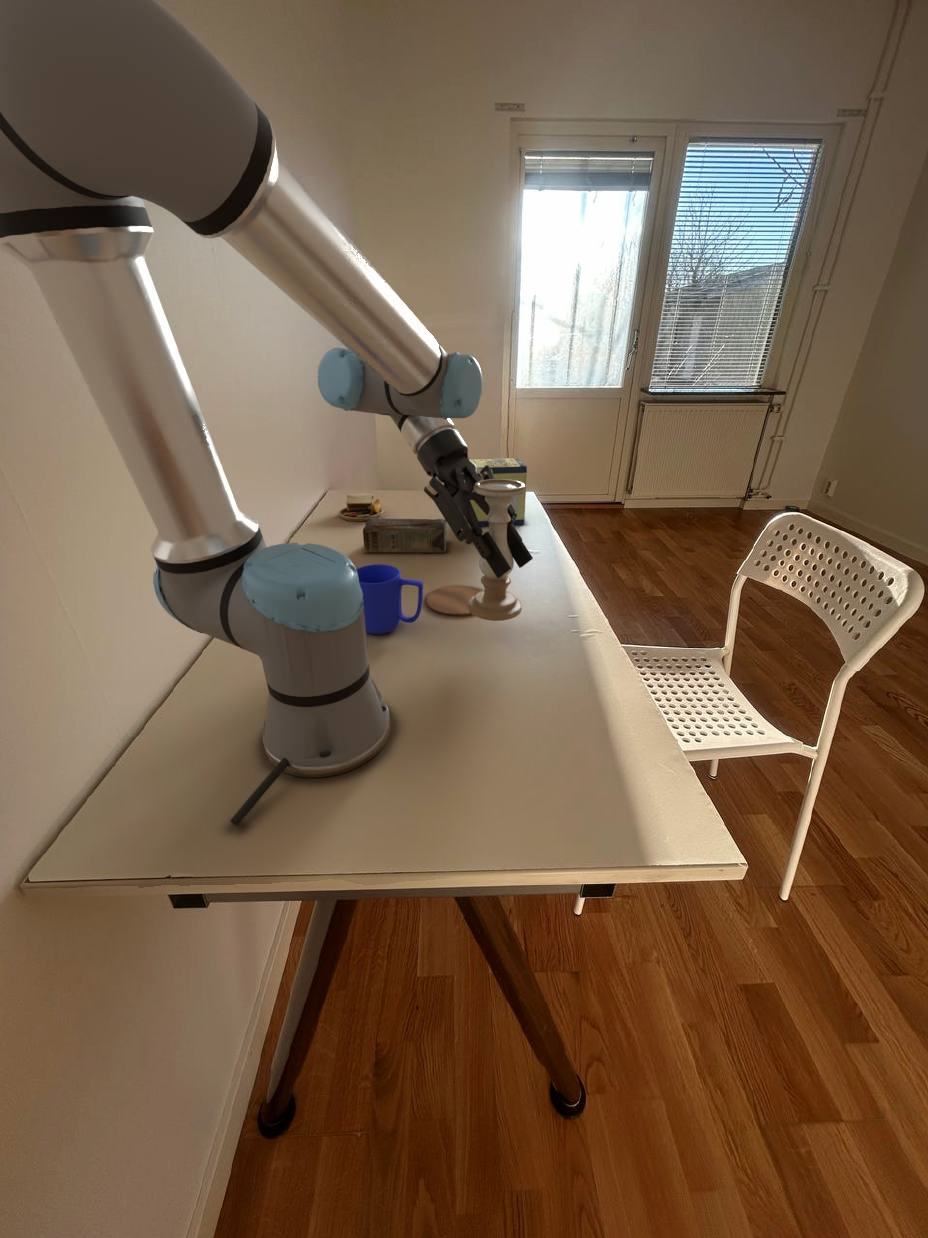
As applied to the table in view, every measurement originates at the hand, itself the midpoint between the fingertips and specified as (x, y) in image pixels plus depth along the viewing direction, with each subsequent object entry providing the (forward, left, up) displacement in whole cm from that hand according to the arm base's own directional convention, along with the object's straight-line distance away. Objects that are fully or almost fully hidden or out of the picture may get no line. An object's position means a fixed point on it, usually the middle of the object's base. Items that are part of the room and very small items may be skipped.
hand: (515, 568), depth 78 cm
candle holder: (+1, +4, -8) cm, 9 cm away
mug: (-7, +20, -13) cm, 25 cm away
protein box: (+55, +35, -13) cm, 66 cm away
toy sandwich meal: (+39, +70, -13) cm, 81 cm away
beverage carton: (+25, +42, -13) cm, 50 cm away
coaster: (+8, +16, -13) cm, 22 cm away
